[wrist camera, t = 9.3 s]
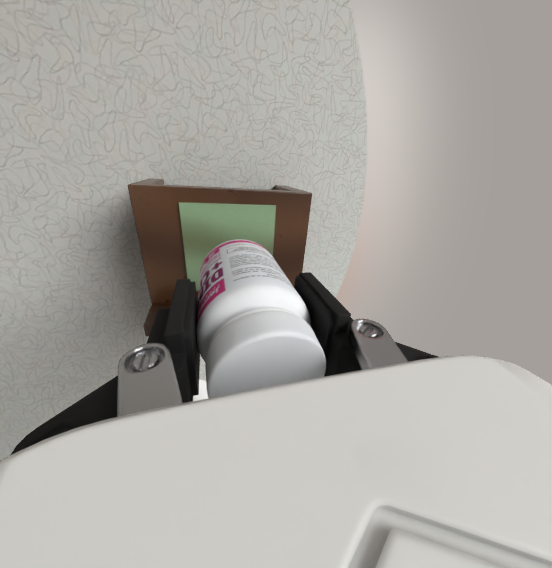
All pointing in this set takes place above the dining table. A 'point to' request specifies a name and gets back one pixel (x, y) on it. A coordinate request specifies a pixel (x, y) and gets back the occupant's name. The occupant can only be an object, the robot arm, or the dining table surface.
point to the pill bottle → (252, 323)
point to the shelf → (212, 230)
